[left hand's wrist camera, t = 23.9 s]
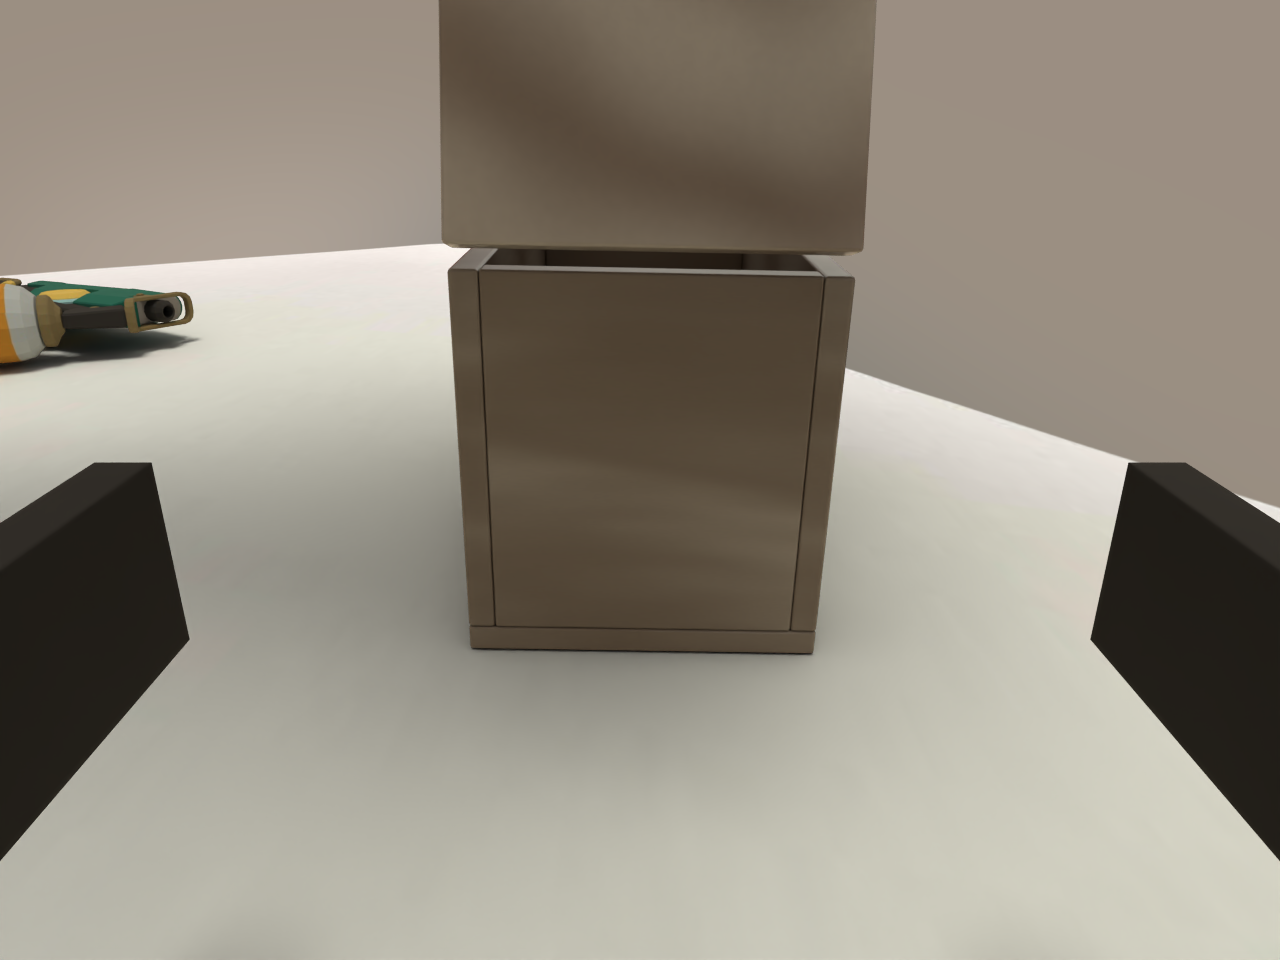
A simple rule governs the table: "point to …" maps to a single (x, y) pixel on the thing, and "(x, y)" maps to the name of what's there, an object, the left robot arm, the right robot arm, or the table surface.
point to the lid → (656, 125)
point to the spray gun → (77, 313)
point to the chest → (646, 445)
